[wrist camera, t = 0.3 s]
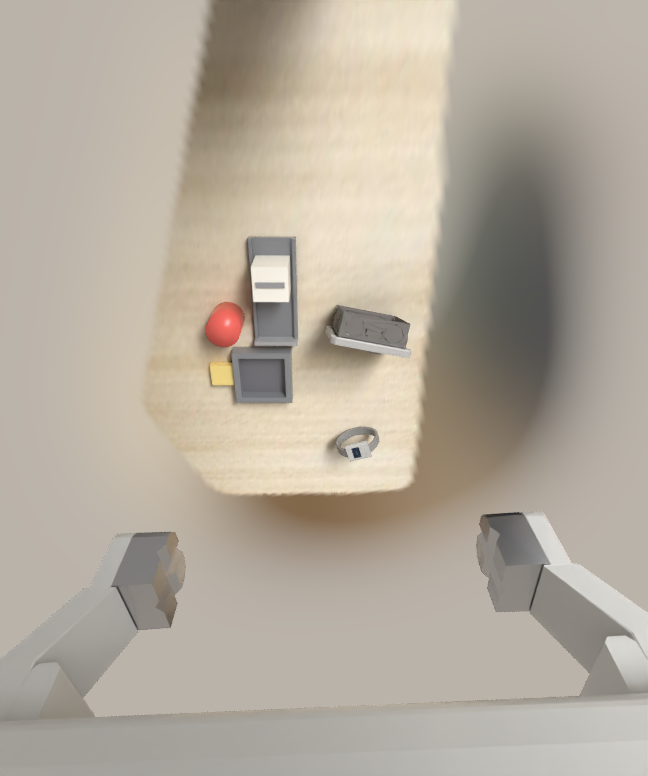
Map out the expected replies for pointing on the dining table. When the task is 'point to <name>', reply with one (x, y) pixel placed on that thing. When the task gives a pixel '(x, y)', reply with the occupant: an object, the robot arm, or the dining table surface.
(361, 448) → the wristwatch
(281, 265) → the white slotted block
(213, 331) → the cap
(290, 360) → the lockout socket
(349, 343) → the electrical switch
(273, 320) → the rail
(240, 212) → the dining table surface
